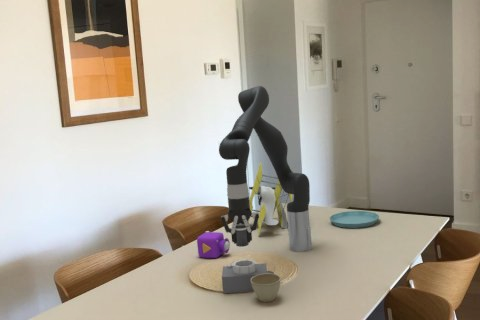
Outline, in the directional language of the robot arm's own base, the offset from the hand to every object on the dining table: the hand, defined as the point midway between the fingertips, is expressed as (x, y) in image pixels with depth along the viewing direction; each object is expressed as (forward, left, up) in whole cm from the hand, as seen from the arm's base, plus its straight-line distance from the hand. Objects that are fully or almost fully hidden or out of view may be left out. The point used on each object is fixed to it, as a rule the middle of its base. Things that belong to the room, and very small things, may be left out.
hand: (242, 242), depth 183 cm
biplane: (-13, -72, -17) cm, 76 cm away
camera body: (0, 0, -16) cm, 16 cm away
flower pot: (-7, +13, -17) cm, 22 cm away
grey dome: (-8, -10, -17) cm, 21 cm away
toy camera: (+13, -38, -17) cm, 43 cm away
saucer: (-55, -73, -17) cm, 93 cm away
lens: (0, 0, -1) cm, 1 cm away
